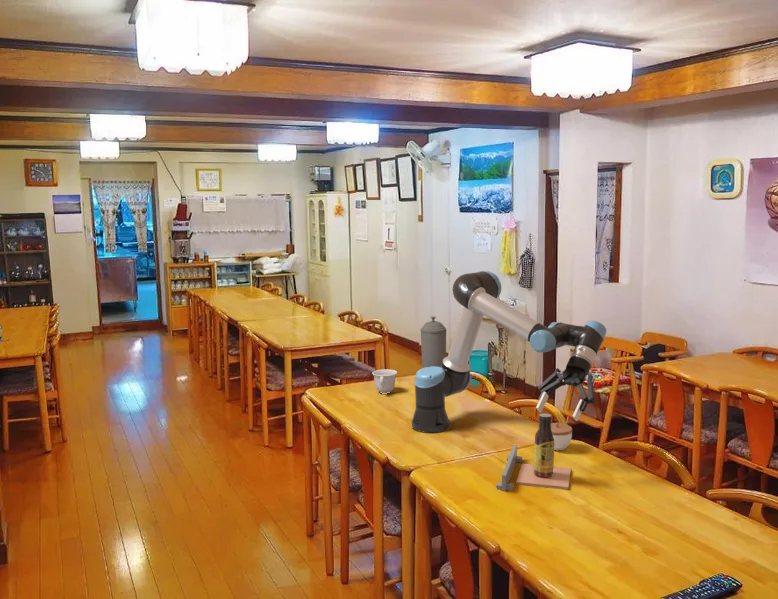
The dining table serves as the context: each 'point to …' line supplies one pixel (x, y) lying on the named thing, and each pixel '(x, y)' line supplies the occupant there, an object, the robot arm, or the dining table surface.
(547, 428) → the sauce bottle
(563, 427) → the lidded jar
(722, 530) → the dining table surface
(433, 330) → the canister
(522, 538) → the dining table surface
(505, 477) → the grey wall
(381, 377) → the teacup
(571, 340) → the robot arm
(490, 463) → the dining table surface
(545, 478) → the terracotta tile
